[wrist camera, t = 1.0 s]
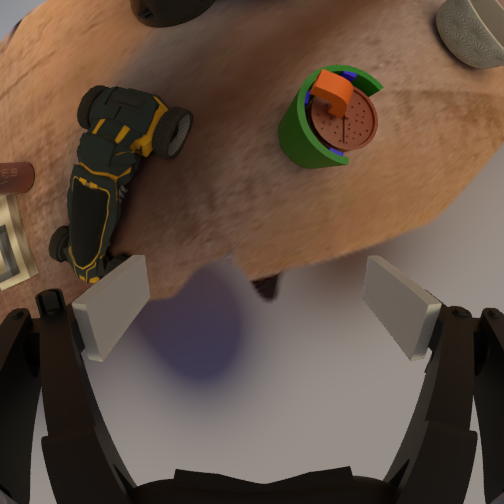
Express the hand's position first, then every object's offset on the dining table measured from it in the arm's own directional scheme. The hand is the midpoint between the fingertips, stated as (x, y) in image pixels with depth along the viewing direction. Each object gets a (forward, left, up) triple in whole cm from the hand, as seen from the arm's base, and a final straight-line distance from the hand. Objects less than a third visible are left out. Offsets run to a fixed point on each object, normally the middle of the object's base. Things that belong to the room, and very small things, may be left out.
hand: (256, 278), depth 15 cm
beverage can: (-22, -40, -26) cm, 52 cm away
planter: (-27, +51, -26) cm, 63 cm away
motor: (-10, +11, -26) cm, 29 cm away
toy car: (-11, -20, -26) cm, 34 cm away
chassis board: (-14, -52, -25) cm, 59 cm away
